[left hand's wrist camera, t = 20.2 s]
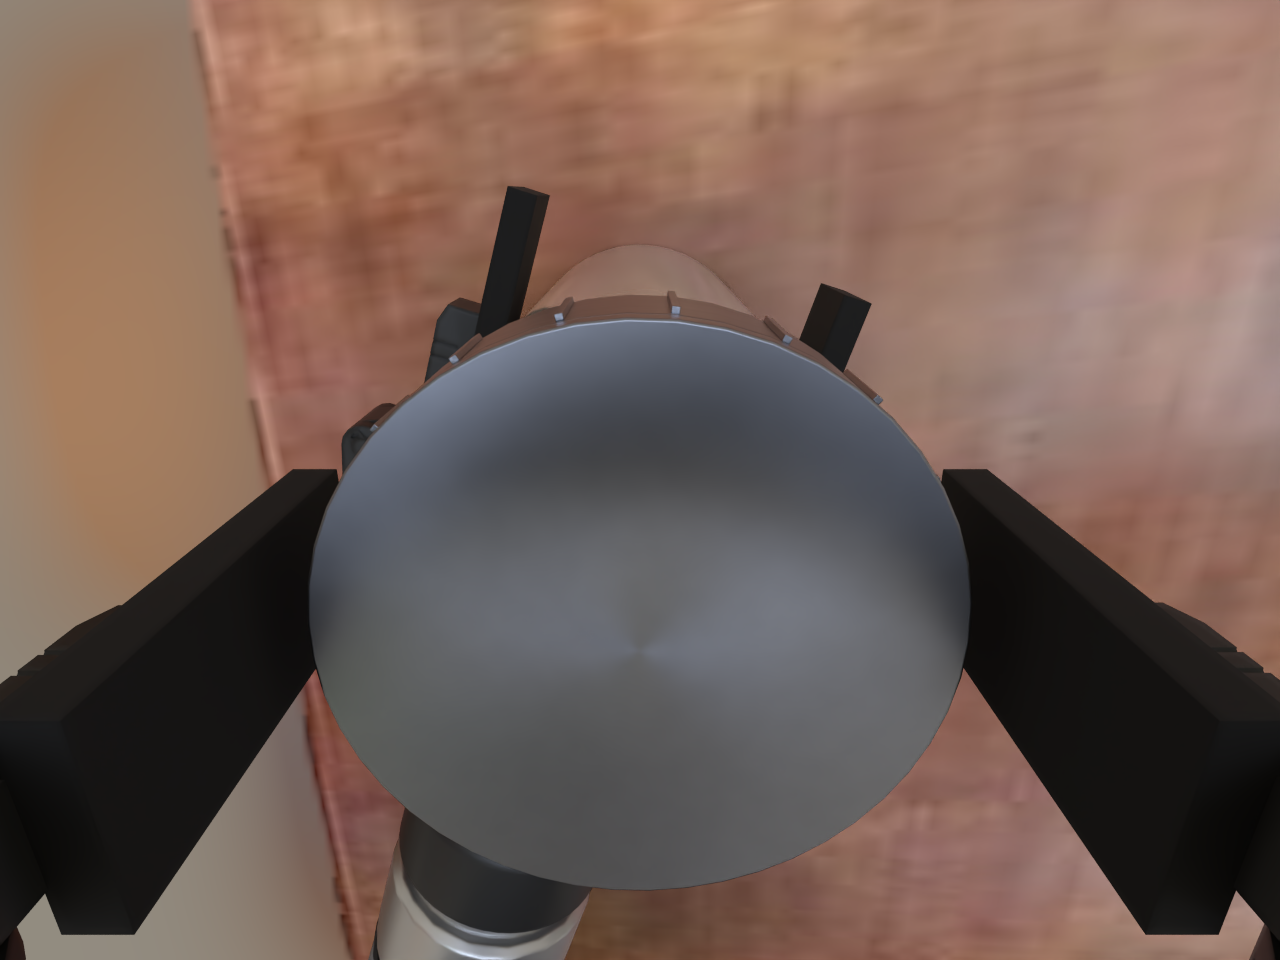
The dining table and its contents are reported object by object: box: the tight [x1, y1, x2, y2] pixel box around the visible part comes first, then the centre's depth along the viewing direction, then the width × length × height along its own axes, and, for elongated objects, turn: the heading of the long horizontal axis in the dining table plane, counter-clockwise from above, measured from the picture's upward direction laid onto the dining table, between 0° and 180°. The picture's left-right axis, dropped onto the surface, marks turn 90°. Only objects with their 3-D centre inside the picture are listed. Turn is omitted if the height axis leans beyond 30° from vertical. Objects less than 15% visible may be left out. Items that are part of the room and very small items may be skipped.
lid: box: [308, 291, 972, 890], centre depth 11 cm, size 9×9×2 cm
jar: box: [524, 245, 755, 317], centre depth 19 cm, size 8×8×18 cm
